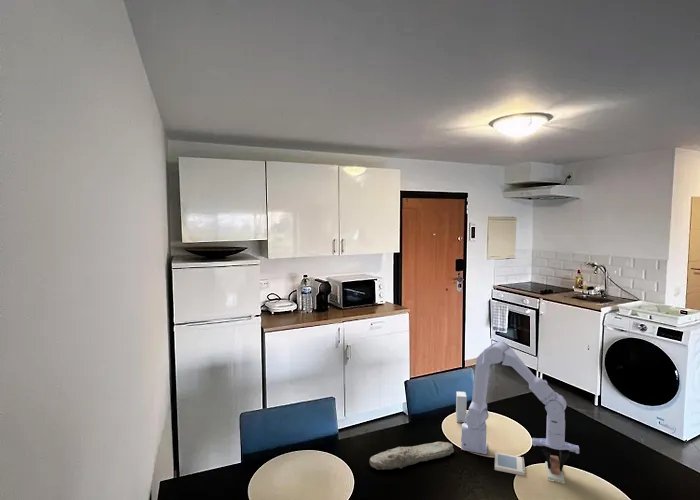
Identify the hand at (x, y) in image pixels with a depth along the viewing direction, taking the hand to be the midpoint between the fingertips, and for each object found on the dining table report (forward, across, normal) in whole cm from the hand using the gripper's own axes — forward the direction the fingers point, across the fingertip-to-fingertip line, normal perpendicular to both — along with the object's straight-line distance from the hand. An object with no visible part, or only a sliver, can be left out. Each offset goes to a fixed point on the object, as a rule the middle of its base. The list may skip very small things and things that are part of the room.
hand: (554, 468), depth 139 cm
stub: (+2, 0, 0) cm, 2 cm away
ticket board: (+2, +15, 0) cm, 15 cm away
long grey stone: (+2, +49, +8) cm, 49 cm away
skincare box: (+2, +35, -30) cm, 46 cm away
